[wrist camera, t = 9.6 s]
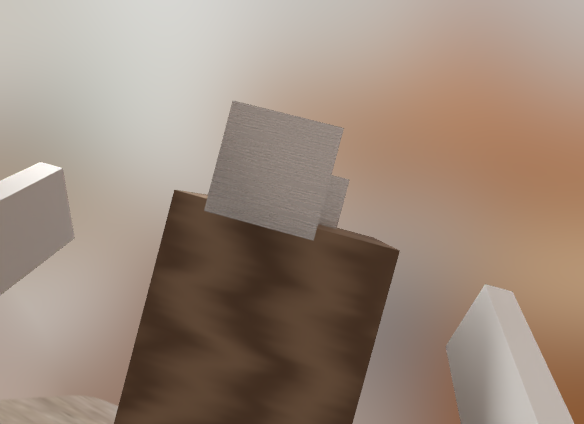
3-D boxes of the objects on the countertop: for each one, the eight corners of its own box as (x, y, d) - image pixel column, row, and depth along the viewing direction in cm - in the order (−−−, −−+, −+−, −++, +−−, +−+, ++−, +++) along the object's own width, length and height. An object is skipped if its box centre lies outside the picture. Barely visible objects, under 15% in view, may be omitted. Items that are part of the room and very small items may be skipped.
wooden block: (63, 619, 23) (174, 189, 22) (144, 490, 33) (221, 196, 33) (276, 699, 22) (399, 250, 21) (290, 540, 32) (373, 237, 31)
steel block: (164, 199, 13) (192, 90, 13) (259, 206, 33) (270, 164, 33) (356, 252, 12) (386, 138, 12) (334, 226, 32) (346, 183, 32)
